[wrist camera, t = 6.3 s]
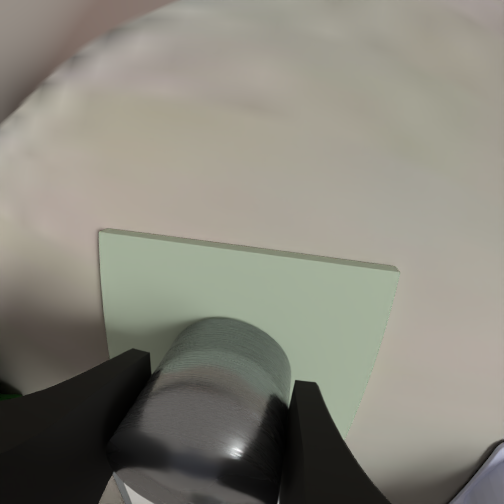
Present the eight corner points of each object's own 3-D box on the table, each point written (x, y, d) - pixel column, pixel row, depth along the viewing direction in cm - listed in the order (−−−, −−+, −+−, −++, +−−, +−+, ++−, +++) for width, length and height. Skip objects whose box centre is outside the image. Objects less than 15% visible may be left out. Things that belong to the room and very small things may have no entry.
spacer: (302, 331, 10) (296, 460, 5) (279, 422, 11) (263, 531, 7) (169, 306, 10) (89, 406, 6) (171, 399, 12) (121, 494, 7)
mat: (394, 266, 10) (400, 272, 9) (340, 438, 12) (341, 447, 11) (107, 228, 11) (98, 232, 10) (123, 397, 13) (118, 405, 12)
